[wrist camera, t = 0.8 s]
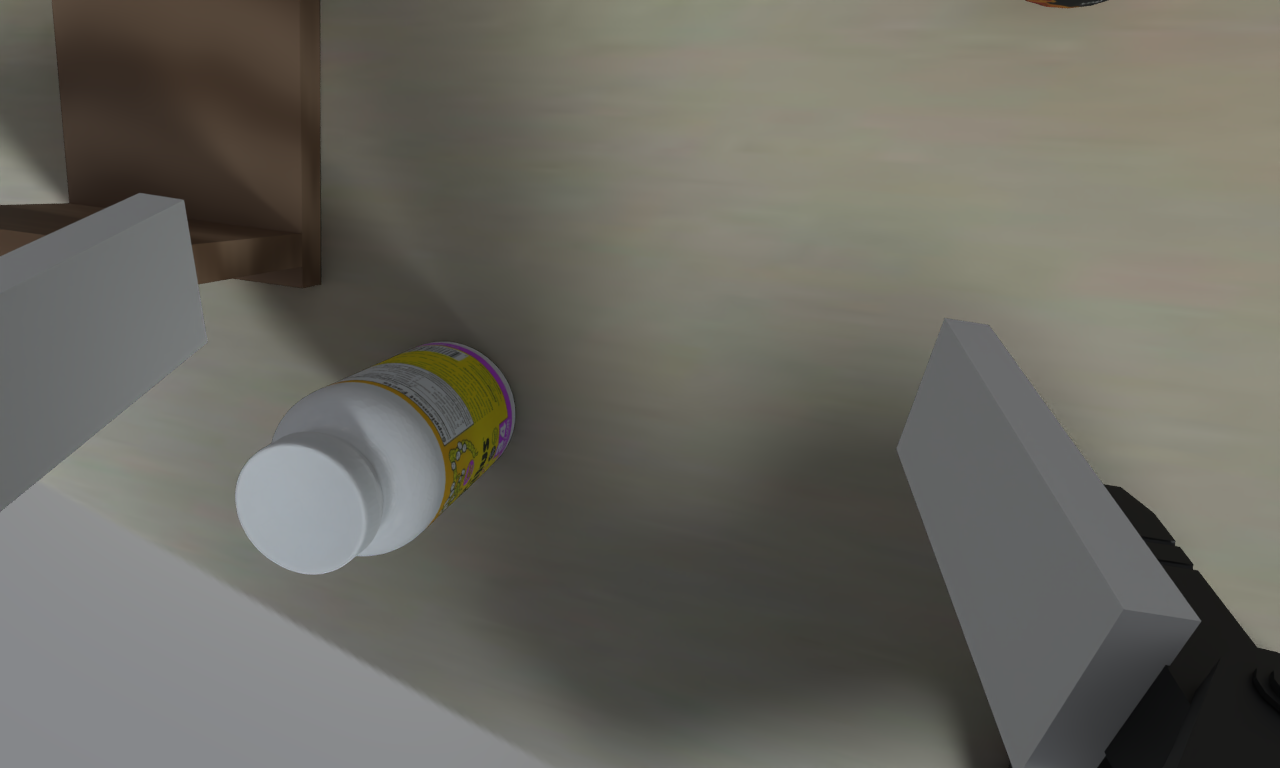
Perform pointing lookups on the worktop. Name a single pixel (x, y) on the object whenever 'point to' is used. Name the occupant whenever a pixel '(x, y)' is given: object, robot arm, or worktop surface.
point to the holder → (194, 127)
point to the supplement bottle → (375, 457)
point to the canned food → (1066, 3)
